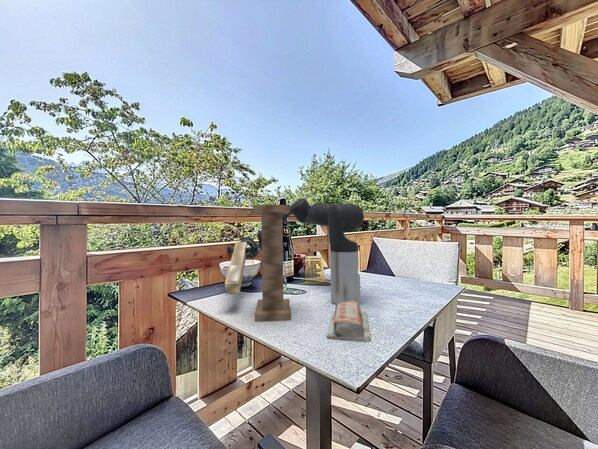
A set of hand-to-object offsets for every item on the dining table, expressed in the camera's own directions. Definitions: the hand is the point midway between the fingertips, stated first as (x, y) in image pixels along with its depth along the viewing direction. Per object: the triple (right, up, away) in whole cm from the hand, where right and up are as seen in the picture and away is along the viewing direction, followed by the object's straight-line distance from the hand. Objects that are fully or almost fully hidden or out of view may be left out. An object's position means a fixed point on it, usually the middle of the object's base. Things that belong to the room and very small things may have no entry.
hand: (239, 251), depth 96 cm
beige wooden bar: (0, -6, -4) cm, 7 cm away
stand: (+14, -17, -16) cm, 27 cm away
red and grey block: (+35, -17, -27) cm, 47 cm away
